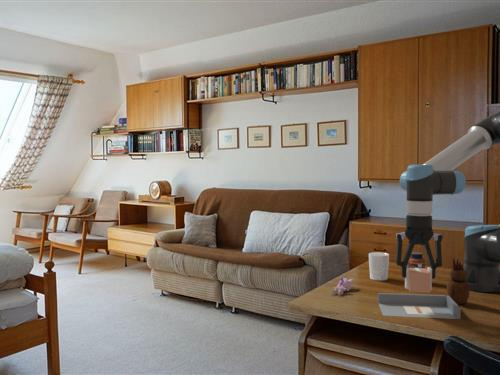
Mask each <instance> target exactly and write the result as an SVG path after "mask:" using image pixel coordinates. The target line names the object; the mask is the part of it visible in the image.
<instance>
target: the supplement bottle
mask: <svg viewBox="0 0 500 375" xmlns="http://www.w3.org/2000/svg"><path fill="white" fill-rule="evenodd" d="M408 268H426V260H425V259H424V257H423V252H418V251H417V252H415V251H412V253H411V256H410V259H409V261H408Z"/></svg>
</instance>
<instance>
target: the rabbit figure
mask: <svg viewBox="0 0 500 375" xmlns="http://www.w3.org/2000/svg"><path fill="white" fill-rule="evenodd" d="M353 282H354V279H353V278H350V279H349V278H346V277H345V278H342V277H340V279H339V281H338V284H337V285H336V286H335V287H332V291H331V295H332V296H335V295H337V296H338V297H341V296H343V295H344V292H345V293H346V291H347V292H349V291H350V289H351V288H352V287H351V286H352V284H353Z"/></svg>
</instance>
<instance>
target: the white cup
mask: <svg viewBox="0 0 500 375" xmlns="http://www.w3.org/2000/svg"><path fill="white" fill-rule="evenodd" d="M389 262H390V254H389V253H387V252H380V251H377V252H376V251H373V252H372V251H371V252H369V253H368V267H369V268H368V270H369V278H370V279H371V280H372V281H381V282H382V281H387V280H388V274H389V266H390V264H389Z"/></svg>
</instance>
